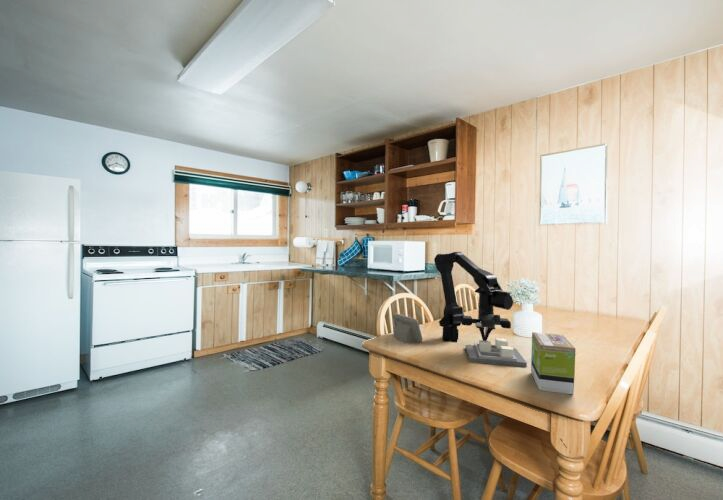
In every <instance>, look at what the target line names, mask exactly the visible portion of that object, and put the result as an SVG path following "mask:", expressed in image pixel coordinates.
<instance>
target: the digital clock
mask: <svg viewBox="0 0 723 500" xmlns="http://www.w3.org/2000/svg"><path fill="white" fill-rule="evenodd" d="M392 320H393V325H394V327H393V338H394V339H396V340H399V341H402V342H404V343H406V344H407V343H411V342H417V343H422V342H423V336H422V331H421V327H420V323H419V321H418V319H416V318H413V317H410V316H406V315H403V314H400V313H395V312H394V313H392Z"/></svg>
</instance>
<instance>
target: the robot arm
mask: <svg viewBox="0 0 723 500" xmlns="http://www.w3.org/2000/svg"><path fill="white" fill-rule="evenodd" d="M433 261H434V265H435V268H436V270H437V271H438V273H439V274H440V278H441V284H442V285H441V286H442V290H443V291H442V292H443V295H444V302H445V306H444V308H443V317H442V318H441V319H440V320H438V323H439V326H440V327H441V328H442V335H441V339H442V342H443V341H446V342H455V343H457V342H458V340H459V328H458V327H460V326H461V325H462V326H469V327H470V326H472V325H473V324H475V327H476V329H478V330H479V332H480V335H481V339H482V340H481V341H488V338H489V336H490V335H491V332H492V331H493V330H496V326H500V327H501V328H502V329H511V328H512V323H511V321H510V320H509V319H508V318H502V317H501V316H500V314H494V308H498V309H502V310H507V311H509V310H511V308H512V307H513V305H514V300H513V296H512V295H511V292H510V291H503V289H502V287H501V285H500V283H499V281H498V277H497V276H496V275H495V274H494V273H491V272H489V271H487V270H484V269H482V268H481V267H479V266H478V264H476V262H475V263H474V261H472V260H471V259H470V258H468V257H467V256H466V255H465V254H464V252H462V251H454V252H450V253H437V254H436V255H435V257H434V260H433ZM454 263H456V264H458V265H459V266H460V267H461V268H462V269H463V270H464V271H466V272H467V274H469V275H470V276H471V277H472V278H473V281H474V283H475V284H476V286H478V288H476V289H475V290H474V293H475V294H476V293H477V294H478V313H477V314H478V315H477V318H472V315H465V314H464V308H463V306H459V304H458V302H457V296H456V292H455V291H456V289H455V285H454V284H455V283H454V279H453V273H452V271H453V269H454V265H455V264H454Z"/></svg>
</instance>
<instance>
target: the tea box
mask: <svg viewBox="0 0 723 500" xmlns="http://www.w3.org/2000/svg"><path fill="white" fill-rule="evenodd" d="M531 334H532V335H531V359H530V360H531V363H530V371H531V374H532V377H533V379H534V381H535V384H536V387H537V388H538V390H539V391H542V392H543V391H544V392H550V393H551V392H552V393H556V394H557V393H559V394H566V395H574V394H575V393H574V391H575V371H576V370H575V369H576V347H574V345H573V344H572V343H571V342H570V341H569V340H568V339H567V337H565V336H564V335H563V334H560V333H559V334H558V333H557V334H556V333H547V332H543V333H542V332H533V331H532V333H531Z"/></svg>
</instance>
